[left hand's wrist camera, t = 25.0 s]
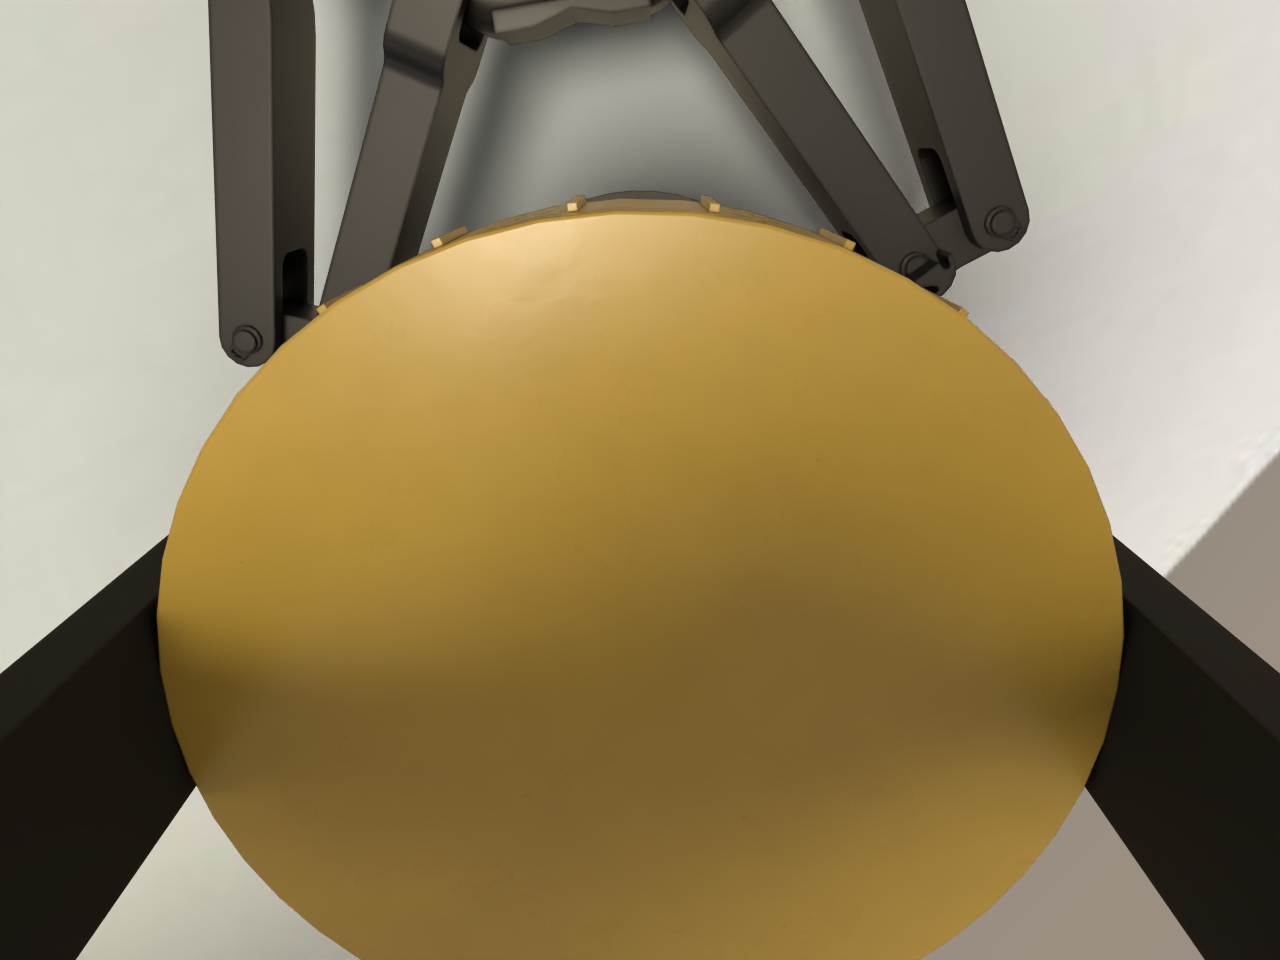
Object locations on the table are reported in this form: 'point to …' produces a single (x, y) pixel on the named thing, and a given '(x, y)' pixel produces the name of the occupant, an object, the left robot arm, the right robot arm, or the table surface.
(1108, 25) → the table surface
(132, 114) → the table surface
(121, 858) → the left robot arm
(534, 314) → the lid
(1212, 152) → the table surface
